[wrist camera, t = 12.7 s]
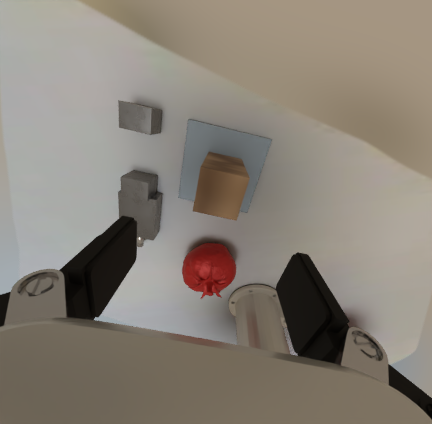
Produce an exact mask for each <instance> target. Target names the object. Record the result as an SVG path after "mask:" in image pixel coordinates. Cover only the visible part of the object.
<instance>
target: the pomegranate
mask: <svg viewBox="0 0 432 424" xmlns="http://www.w3.org/2000/svg"><path fill="white" fill-rule="evenodd" d="M182 274H183V279H184V282H185V284H186V285H188V286H189V287H188V288H191V289H192V290H194V291H200V292H203V295H202V297H201V298H203V297H204V296H205V295H209V296H212V295H213V293H216V295H217V296H218V297H221V296H220V295H219V292H220V291H221V290H223V289H224V288H226V287H227V286H228V285H229V284H230V283H231V282H232V281H233V279H234V277H235V275H236V264H235V261H234V259H233V257H232V256H231V255H230V253H229V251H228V249H227V248H226V247H225V246H224V245H222V244H218V243H216V244H214V243H205V244H202V245H200V246H198V247H196V248H194V249H193V250H192V251H190V252H189V253H188V255H187V256H186V257H185V259H184V262H183V269H182ZM221 298H222V297H221Z"/></svg>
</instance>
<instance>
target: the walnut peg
mask: <svg viewBox="0 0 432 424" xmlns="http://www.w3.org/2000/svg"><path fill="white" fill-rule="evenodd" d="M249 179H250V177H249V175H248V173H247V170H246V168H245V166H244V163H243V161H242V159H239V158H235V157H231V156H226V155H222V154H218V153H214V152H208V154H207V156H206V158H205V160H204V162H203V163H202V165H201V167H200V173H199V179H198V184H197V190H196V195H195V201H194V207H193V211H195V212H199V213H204V214H209V215H213V216H218V217H223V218H227V219H232V220H237V217H238V214H239V211H240V208H241V204H242V201H243V198H244V195H245V192H246V189H247V185H248V182H249Z"/></svg>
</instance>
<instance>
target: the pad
mask: <svg viewBox="0 0 432 424" xmlns="http://www.w3.org/2000/svg"><path fill="white" fill-rule="evenodd" d="M271 141H272V139H268V138H264V137H260V136H256V135H252V134H248V133H244V132H239V131H235V130H231V129H227V128H223V127H219V126H215V125H211V124H207V123H202V122H198V121H194V120H190V119H188V127H187V135H186V142H185V150H184V158H183V166H182V173H181V181H180V189H179V196H178V198H181V199H186V200H191V201H195V195H196V190H197V184H198V179H199V173H200V167H201V165H202V163H203V162H204V160H205V158H206V156H207V154H208V152H214V153H218V154H222V155H226V156H231V157H235V158H239V159H242V161H243V163H244V166H245V168H246V170H247V173H248V175H249V177H250V179H249V182H248V185H247V189H246V192H245V195H244V198H243V201H242V204H241V208H240V211H241V212H246V213H247V212H248V209H249V206H250V203H251V200H252V197H253V194H254V191H255V188H256V185H257V182H258V179H259V176H260V173H261V170H262V168H263V165H264V162H265V159H266V156H267V153H268V150H269V147H270V144H271Z"/></svg>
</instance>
